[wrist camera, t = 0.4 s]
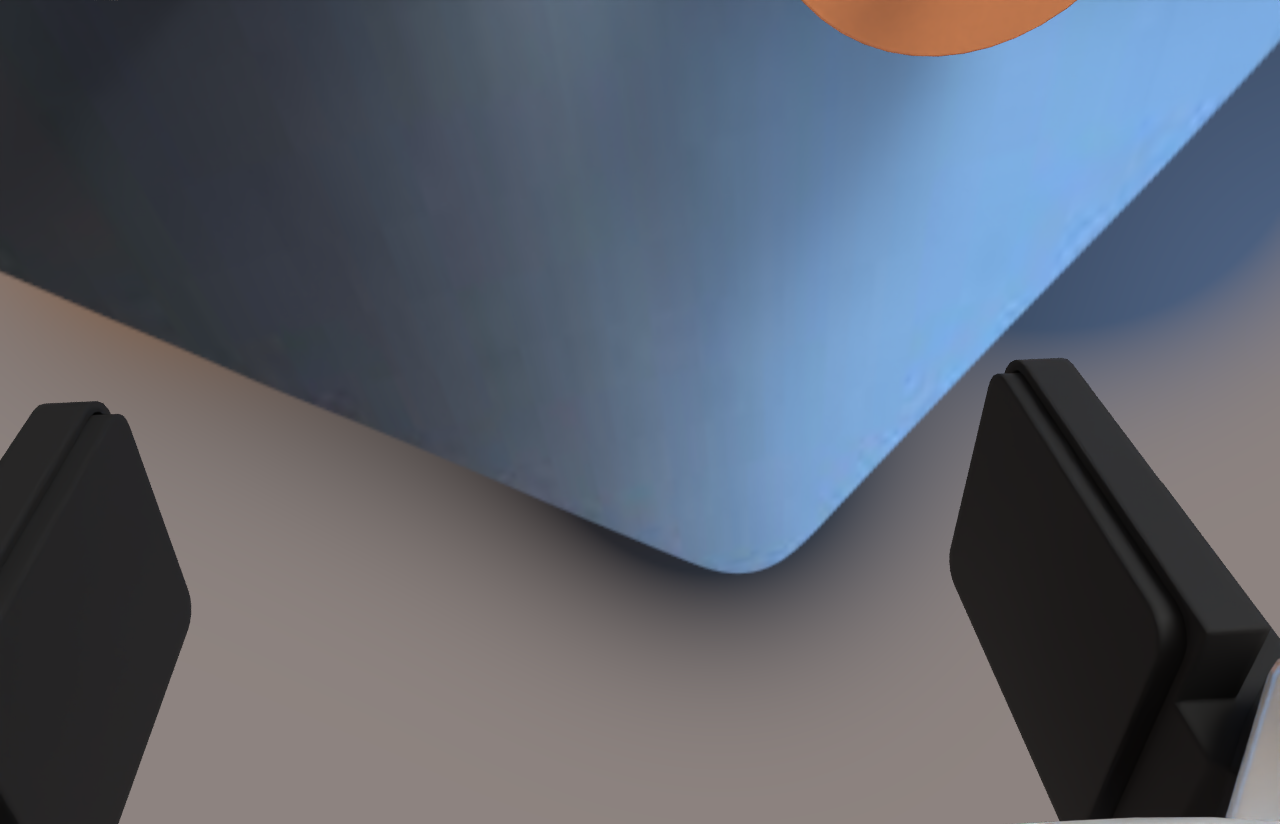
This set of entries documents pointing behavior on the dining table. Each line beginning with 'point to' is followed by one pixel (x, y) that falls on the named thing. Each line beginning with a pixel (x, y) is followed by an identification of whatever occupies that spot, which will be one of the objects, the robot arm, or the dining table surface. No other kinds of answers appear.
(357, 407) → the dining table surface
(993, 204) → the dining table surface
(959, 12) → the pot lid
